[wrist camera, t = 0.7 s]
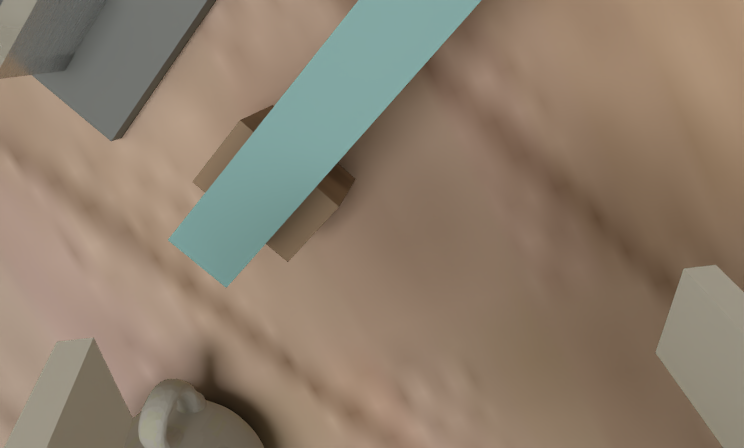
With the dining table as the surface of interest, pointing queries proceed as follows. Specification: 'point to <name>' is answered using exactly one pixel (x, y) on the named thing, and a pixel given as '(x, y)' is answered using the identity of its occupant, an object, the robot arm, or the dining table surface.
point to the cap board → (125, 59)
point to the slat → (314, 127)
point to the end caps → (43, 34)
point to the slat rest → (309, 211)
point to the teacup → (187, 421)
